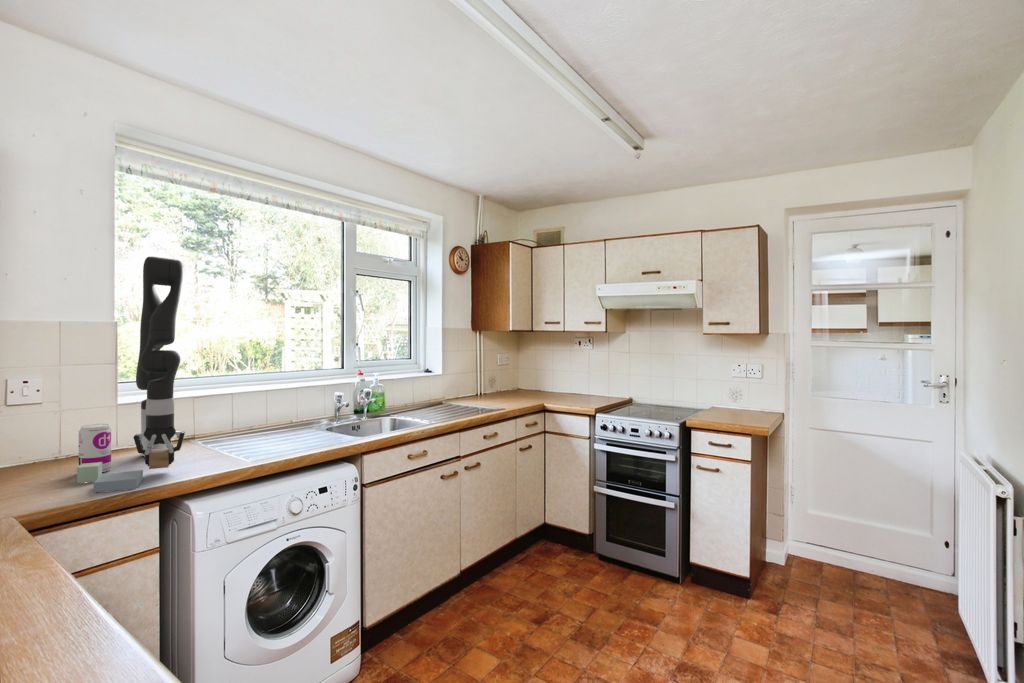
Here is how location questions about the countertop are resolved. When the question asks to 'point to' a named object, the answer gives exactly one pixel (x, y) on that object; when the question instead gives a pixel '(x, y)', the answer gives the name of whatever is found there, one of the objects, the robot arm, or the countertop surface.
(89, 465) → the sage cube
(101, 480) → the slate base
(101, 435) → the supplement can
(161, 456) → the walnut cube
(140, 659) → the countertop surface
